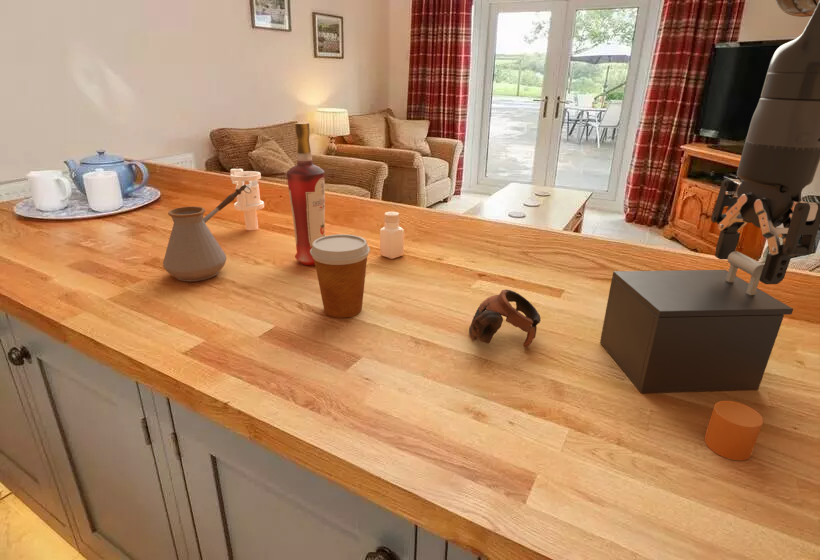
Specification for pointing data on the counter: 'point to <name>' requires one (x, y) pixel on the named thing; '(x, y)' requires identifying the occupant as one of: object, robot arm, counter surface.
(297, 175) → the liquor
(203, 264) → the coffee pot
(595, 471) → the counter surface
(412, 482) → the counter surface
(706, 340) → the dark grey storage bin
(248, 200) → the white plastic fitting
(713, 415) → the orange cylinder
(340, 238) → the disposable coffee cup
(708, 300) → the box lid with handle
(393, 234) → the white medicine bottle
